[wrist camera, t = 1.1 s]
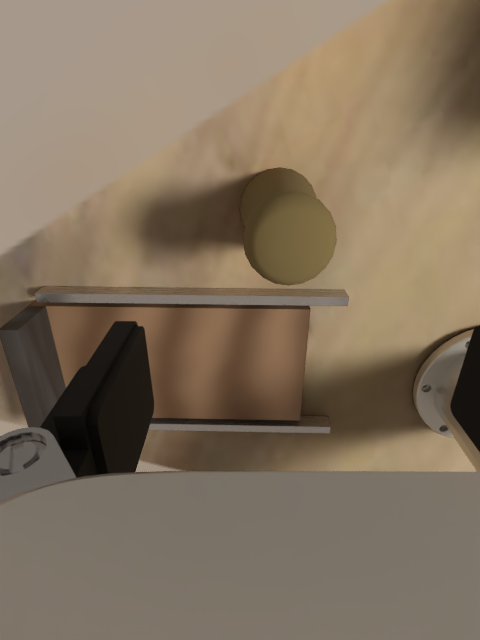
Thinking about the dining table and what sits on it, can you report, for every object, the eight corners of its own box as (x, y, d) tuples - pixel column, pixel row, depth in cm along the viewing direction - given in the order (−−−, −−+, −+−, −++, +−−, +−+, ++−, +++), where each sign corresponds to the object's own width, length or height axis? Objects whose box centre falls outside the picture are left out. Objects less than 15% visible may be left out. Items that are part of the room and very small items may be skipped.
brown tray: (308, 303, 33) (318, 334, 28) (298, 412, 38) (305, 454, 33) (35, 300, 34) (-3, 330, 29) (63, 408, 39) (35, 449, 34)
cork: (229, 182, 29) (218, 209, 19) (306, 155, 28) (337, 169, 18) (252, 256, 32) (254, 313, 22) (324, 233, 31) (360, 282, 21)
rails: (344, 289, 33) (348, 297, 31) (326, 422, 39) (329, 433, 38) (43, 286, 33) (34, 293, 32) (75, 417, 40) (69, 428, 38)
